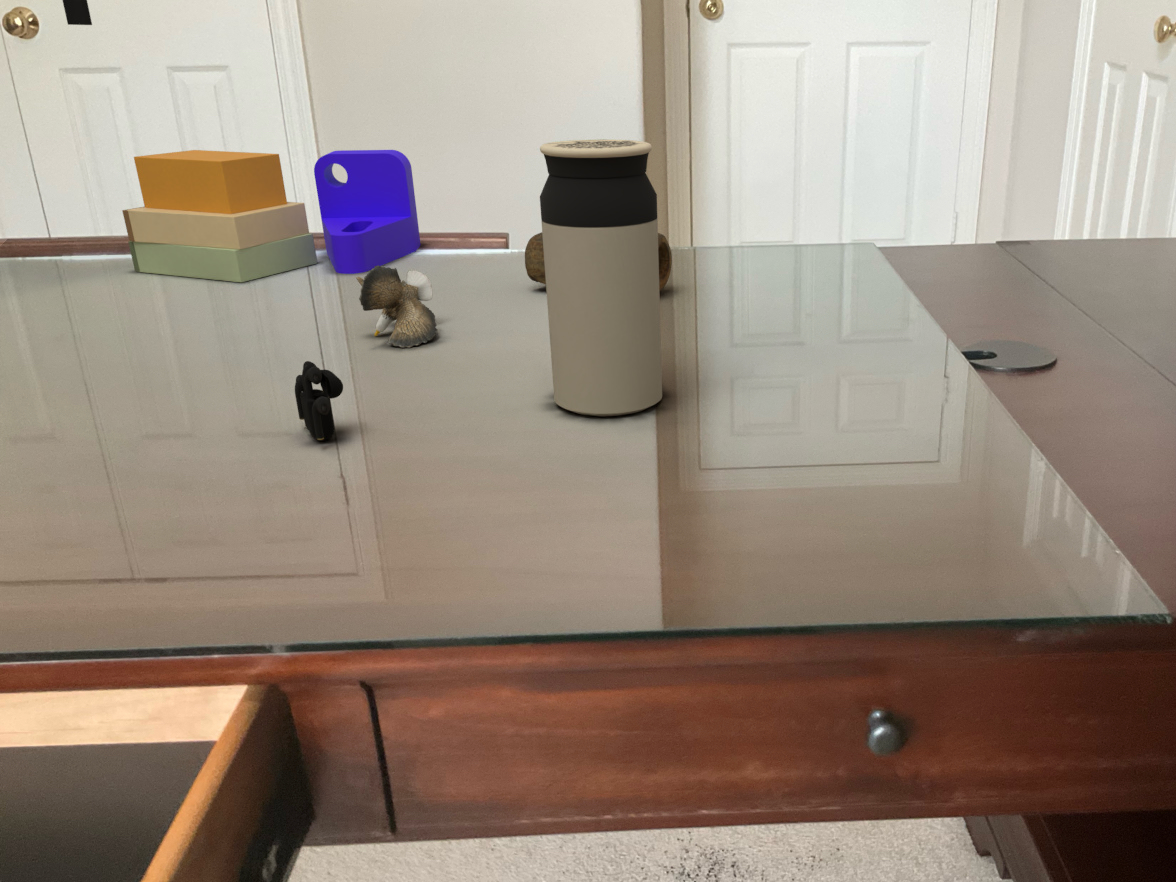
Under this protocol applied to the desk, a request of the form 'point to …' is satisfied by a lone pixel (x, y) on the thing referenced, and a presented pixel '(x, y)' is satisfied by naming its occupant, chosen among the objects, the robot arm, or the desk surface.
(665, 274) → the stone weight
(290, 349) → the desk surface
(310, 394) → the wireless earbuds
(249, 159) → the orange block
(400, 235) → the bracket
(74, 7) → the robot arm
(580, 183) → the travel mug
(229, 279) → the beige and green block
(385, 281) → the eagle figurine
